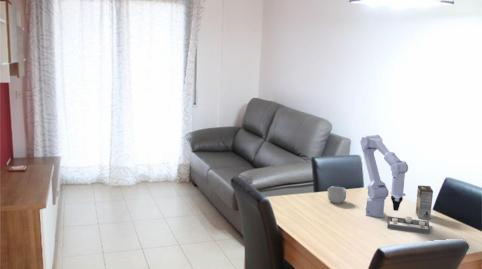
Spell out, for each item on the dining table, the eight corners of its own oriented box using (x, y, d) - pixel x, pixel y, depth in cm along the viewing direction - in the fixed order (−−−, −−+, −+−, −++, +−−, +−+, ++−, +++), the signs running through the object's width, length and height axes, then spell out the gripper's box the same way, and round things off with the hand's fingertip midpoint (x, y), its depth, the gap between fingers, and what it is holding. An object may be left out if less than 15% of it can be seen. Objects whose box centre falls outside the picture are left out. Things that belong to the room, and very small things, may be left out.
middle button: (405, 222, 222) (405, 218, 221) (405, 220, 225) (405, 216, 224) (411, 223, 221) (411, 219, 220) (411, 221, 224) (411, 217, 223)
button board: (387, 228, 220) (387, 223, 219) (387, 219, 231) (388, 215, 231) (429, 234, 213) (430, 229, 213) (428, 225, 224) (428, 220, 224)
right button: (418, 227, 220) (419, 223, 220) (418, 225, 223) (418, 220, 222) (424, 228, 219) (425, 223, 219) (424, 226, 222) (425, 221, 221)
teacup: (347, 205, 252) (348, 192, 251) (328, 205, 253) (329, 191, 251) (342, 197, 266) (342, 184, 265) (324, 197, 266) (325, 184, 265)
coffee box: (415, 212, 242) (417, 185, 239) (427, 213, 241) (429, 185, 238) (418, 218, 233) (420, 190, 230) (430, 219, 232) (433, 190, 229)
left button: (391, 224, 224) (392, 219, 224) (391, 222, 227) (392, 217, 227) (397, 224, 223) (398, 220, 223) (397, 222, 226) (398, 218, 226)
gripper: (406, 190, 213) (404, 216, 216) (406, 181, 227) (403, 206, 229) (391, 188, 216) (389, 214, 218) (391, 180, 229) (389, 204, 232)
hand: (395, 210), depth 224 cm, fingers closed
